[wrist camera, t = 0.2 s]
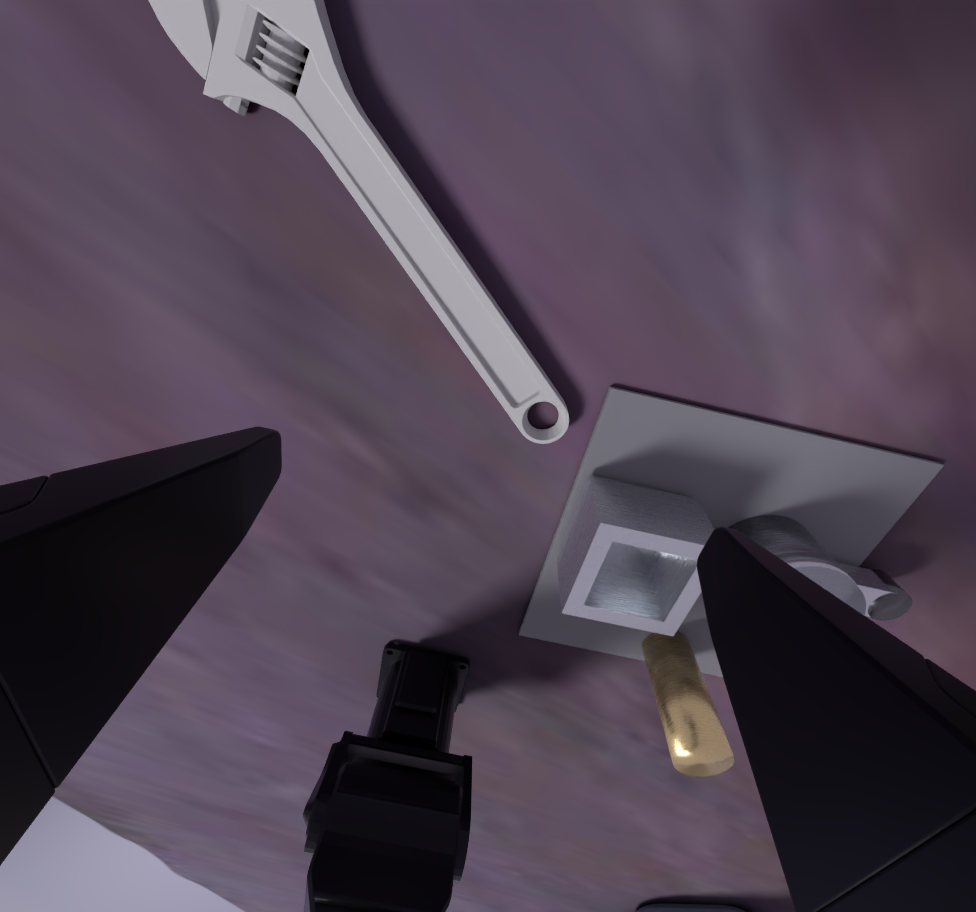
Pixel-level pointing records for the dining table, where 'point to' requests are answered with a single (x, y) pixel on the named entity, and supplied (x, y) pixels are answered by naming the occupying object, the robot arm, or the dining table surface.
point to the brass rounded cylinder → (686, 707)
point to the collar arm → (657, 560)
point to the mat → (727, 497)
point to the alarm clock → (688, 908)
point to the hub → (802, 555)
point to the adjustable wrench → (357, 170)
